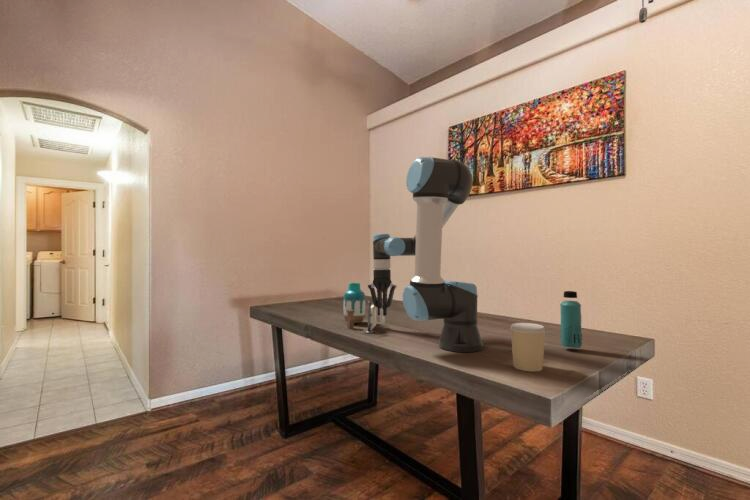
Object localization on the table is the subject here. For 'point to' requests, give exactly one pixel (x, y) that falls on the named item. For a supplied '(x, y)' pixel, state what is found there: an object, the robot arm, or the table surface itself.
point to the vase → (354, 302)
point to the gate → (373, 316)
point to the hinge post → (369, 318)
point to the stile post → (350, 319)
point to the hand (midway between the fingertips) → (382, 322)
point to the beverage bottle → (571, 322)
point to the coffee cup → (528, 346)
